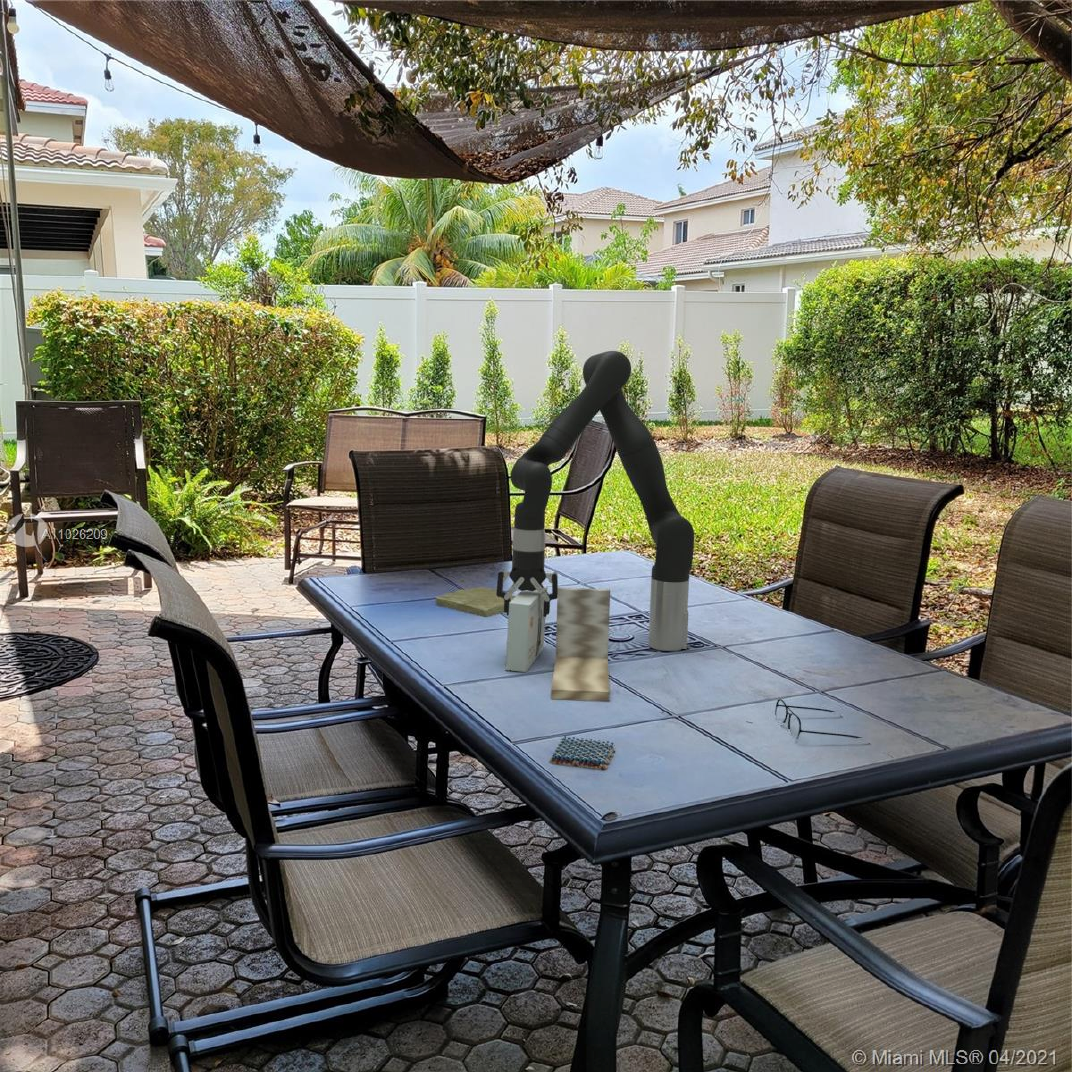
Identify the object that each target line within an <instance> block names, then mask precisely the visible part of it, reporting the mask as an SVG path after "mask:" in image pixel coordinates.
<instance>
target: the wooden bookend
mask: <svg viewBox="0 0 1072 1072" xmlns="http://www.w3.org/2000/svg"><path fill="white" fill-rule="evenodd" d="M556 600H557V601H556V632H555V634H556V635H555V638H556V639H555V659H554V667H553V675H552V682H551V693H550V694H551V695H550V699H552V700H572V701H573V700H574V701H594V702H595V701H597V702H599V701H600V702H610V678H609V677H610V675H609V641H610V640H609V638H610V636H609V634H610V613H611V611H610V608H611V607H610V606H611V589H609V588H586V587H585V588H584V587H583V588H581V587H579V588H578V587H558V593H557V599H556Z"/></svg>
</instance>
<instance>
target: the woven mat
mask: <svg viewBox="0 0 1072 1072" xmlns="http://www.w3.org/2000/svg"><path fill="white" fill-rule="evenodd" d="M559 740H560V741H559V742H557V747H555V750H554V752H553V753H552V754H551V758H550V759H548V761H549V763H551V764H556V765H558V764H559V765H564V766H565V765H566V766H574V767H581V768H589V769H597V770H607V769H608V766H607V765H609V764H610V762H611V760H613V756H614V753H616V749H615V747H616V744H614V742H610V741H609V740H606V742H605V741H601V739H599V740H593V739H592V738H589V740H588V739H584V738H583V737H581V738H575V736H573V737H572V738H571V737H567V736H566V735H564V737H563V738H559Z"/></svg>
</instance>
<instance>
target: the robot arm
mask: <svg viewBox="0 0 1072 1072" xmlns="http://www.w3.org/2000/svg"><path fill="white" fill-rule="evenodd" d="M631 374H632V364H631V362H630V360H629V358H628V357H627V356H626V354H625V353H622V352H621V351H618V350H608V351H604V352H601V353H598V354H597V353H596V354H595V355H593V354H592V355H591V356H589V357H588V358H587V359H586V360H585V361H584V365H583V368H582V378H583V380H584V383H585V386H584V388H583V389H582V391H580V393H579V394H578V395H577V396H576V397H575V398H574V399H573V400H572V402H571V403H570V404H568V405H567V406H566V407H565V408H564V409H563V410H562V411H561V412H560V413H558V415H557V416H556V417H555V418H554V419H553V420H552V422H551V423H550V424H549V426H548V427H547V428H546V430H545V431H544V432H543V434H542V435H541V436H540V438H539V439H538V441H537V442H536V443H534V444H533V445H532V446H530V448H529V449H527V450H526V451H525V452H524V453H523V454H522V455H521V456H520V457H518V459H516V462H514V464H513V465H512V468H511V471H510V475H509V477H510V481H511V484H512V485H513V487H514V488H516V489H517V490H519V491H523V492H524V493H523V494H524V495H523V499H522V501H521V502H518V503H517V504H516V505H515V508H514V520H513V521H514V524H513V525H514V526H513V533H512V534H513V535H512V543H511V547H512V550H511V551H512V554H511V555H512V556H511V571H506V570H503V569H500V570H499V571H498V572H497V573H498V574H497V583H496V584H497V585H496V589H497V592H496V595H497V596H498V597H502V598H503V599H504V613H505V614H506V616H509V603H510V602H511V598H510V597H511V595H512V596H513V594H514V593H515V592H516V591H517V590H520V592H521V591H525V590H529V591H535V590H537V591H538V592H539V594H540V595H541V596H542V597H543V598H544V609H543V617H545V618H547V615H549V614H550V612H551V601H553V600H557V593H558V586H559V583H558V582H559V579H558V572H557V571H554V572H552V573H551V572H550V573H549V572H546V571H545V562H546V560H545V557H546V533H545V532H546V531H545V530H546V529H545V524H546V522H545V521H546V519H545V518H546V508H547V506H548V502H549V500H550V499H549V498H550V495H551V492H552V491H551V490H552V486H553V476H552V472H551V469H550V468H549V466H550V465H552V464H555V463H559V462H561V461H562V460H563V459H564V458H565V457H566V455H567V454H568V452H569V451H570V449H572V447H573V446H574V444H575V443H576V441H577V440H578V439H579V437H580V436H581V435H582V433H583V432H584V430H585V429H586V428H587V426H588V425H589V424H590V423H591V421H592V420H593V419H595V417H596V416H597V414H598V413H599V412H600V413H601V416H602V418H603V420H604V424H605V426H606V427H607V429H608V433H609V435H610V437H611V439H612V442H613V444H614V447H615V449H616V452H617V455H618V458H619V460H620V462H621V464H622V467H623V469H624V471H625V473H626V476H627V477H628V479H629V480H628V481H629V482H630V484H631V486H632V487H633V489H634V492H635V493H636V495H637V496H638V499H639V501H640V503H641V506H642V509H643V512H644V515H645V518H646V521H647V526H648V529H649V533H650V536H651V539H652V540H653V541H654V543H655V544H656V545H655V546H656V547H655V560H654V565H652V568H651V579H650V583H651V584H650V600H649V602H650V603H649V618H648V619H649V622H648V639H647V640H648V644H647V645H648V647H650V648H652V649H654V650H657V651H667V652H676V651H682V650H681V649H687V647H688V630H689V610H688V609H689V608H688V605H689V591H690V590H689V589H690V588H689V587H690V575H691V571H692V568H693V561H694V549H695V531H694V527H693V524H692V523H691V522H690V521H689V520H688V519H687V518H685V517H684V516H682V514H681V513H680V511H679V510H678V508H677V507H676V505H675V502H674V500H673V498H672V496H671V494H670V491H669V490H668V485H667V480H666V473H665V469H664V463H663V460H662V456H661V454H660V452H659V449H658V446H657V444H656V441H655V440H654V437H653V434H652V433H651V431H650V430H649V428H648V427H647V426H646V425H645V423H644V422H643V421H642V420H641V419H640V418H639V416H637V414H636V413H635V412H634V411H633V409H632V408H631V406H630V405H629V403H628V401H627V399H626V397H625V395H624V392H623V389H622V388H623V387H624V386H625V385H626V384H627V383H628V382H629V380H630V378H631V376H632V375H631ZM508 577H509V578H510V580H511V582H512V585H511V586H510V587H509V589H508V590H506V591H504V581H507V579H508ZM546 579H547V580H548V582H549V583H550V584H551V586H552V587H551V590H552V591H551V593H549V592H548V590H547V591H546V589H545V587H544V586H545V585H543V583H544V582H545V580H546ZM687 650H688V649H687Z"/></svg>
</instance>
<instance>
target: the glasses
mask: <svg viewBox="0 0 1072 1072" xmlns="http://www.w3.org/2000/svg"><path fill="white" fill-rule="evenodd" d="M779 702H782V704H779ZM779 707H783V708H784V707H785V718H784V720H783V721H782V723H787V730H788V729H790V730H791V718H792V715H793V716H795V717H796V719H797V721H798V734H797V738H796V740H797V739H798V740H799V737H800V735H801V733H807V734H808V733H809V734H818V735H828V736H829V735H830V736H838V737H839V736H840V737H847V738H853V739H858V738H862V737H861V736H857V735H851V734H850V735H849V734H841V733H833V732H824V731H823V732H821V731H813V730H811V731H810V730H803V729H802V722H801V718H800V717H799V716H798V715H797V714H796V713H794V712H793V711H792V710H791V709H790V708H794V709H800V710H801V709H803V710H813V711H823V712H827V713H832V712H835V711H834V710H831V709H824V708H815V707H809V706H808V707H805V706H798V705H797V706H796V705H795V706H794V705H787V704H786V702H785V701H784V700H783V699H781V698H779V699H777V702H776V705H775V710H774V713H775V715H776V716H777V709H778V708H779ZM775 715H774V716H775Z"/></svg>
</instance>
